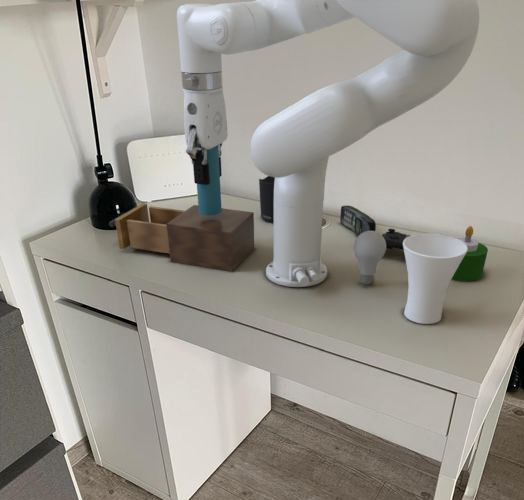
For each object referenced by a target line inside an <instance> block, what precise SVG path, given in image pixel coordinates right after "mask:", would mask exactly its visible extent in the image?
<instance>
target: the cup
mask: <svg viewBox="0 0 524 500" xmlns="http://www.w3.org/2000/svg"><path fill="white" fill-rule="evenodd" d="M410 235H411V236H409V237H407V238H405V239H404V240H403V248H404V250H403V252H404V258H405V264H406V270H407V277H408V278H407V281H408V283H407V284H408V289H407V300H406V304H405V307H404V311H403V314H404V317H406V319H408V320H409V321H411V322H413V323H417V324H423V325H430V324H431V325H432V324H436V323H439V321H440V320H442V315H443V314H442V313H443V303H444V301H445V297H446V293H447V291H448V288H449V286H450V283H451V281H452V280H453V279H452V277H453V275H454V273H455V272H456V270H457V268H458V266H459V264H460V263H461V261H462V259H463V258H464V256H465V254H466V253H467V251H468V247H467V245H466V244H465V243H464V242H463V241H461V240H459V239H458V237H455V236H451V235H448V234H442V233H434V232H423V233H414V234H410Z"/></svg>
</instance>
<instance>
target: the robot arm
mask: <svg viewBox="0 0 524 500" xmlns="http://www.w3.org/2000/svg"><path fill="white" fill-rule="evenodd" d="M354 18H356V19H357V20H358V21H360V22H361V23H363V24H364V25H366V26H367V27H369V28H370V29H372V30H373V31H375V32H376V33H378V34H380V36H382V37H384V38H385V39H387V40H388V41H390V42H391V43H393V44H394V45H396V46H397V47H399V48H401V49H402V50H399V51H398V52H396V53H395V54H393V55H391V56H389V57H387V58H386V59H384V60H383V61H381V62H379V63H378V64H377V65H374V66H373V67H371V68H369V69H368V70H365V71H364V72H361V73H360V74H358V75H356V76H354V77H352V78H349V79H346V80H341V81H338V82H335V83H331V84H329V85H326V86H324V87H322V88H319V89H318V90H315V91H314V92H311V93H310V94H308V95H306V96H305V97H304V98H302V99H300V100H298V101H296V102H295V103H293V104H291V105H290V106H288V107H286V108H284V109H283V110H281V111H280V112H278V113H276V114H274V115H272V116H271V117H269V118H267V119H266V120H264V121H263V122H261V123H260V124H259V125H258V127H257V128H256V129H255V131H254V133H252V137H251V140H250V143H249V144H250V146H249V153H250V158H251V160H252V163H253V164H254V166H255V167H256V168H257V170H258V171H260V173H262V174H264V175H265V176H267V177H268V176H270V177H275V182H274V223H273V261H271V262H270V263H269V264H267V266H266V267H265V275H266V278H267V279H268V280H270V281H271V282H272V283H274V284H276V285H279V286H284V287H290V288H306V287H312V286H315V285H318V284H320V283H321V282H324V281H325V280H326V278H327V277H328V267H327V265H325V264H324V263H323V262H322V261H321V254H322V238H323V237H322V236H323V217H324V201H325V185H326V176H327V175H326V174H327V168H328V163H329V157H331V156H332V155H334V154H337V153H339V152H340V151H342V150H344V149H347V148H348V147H350V146H351V145H353V144H355V143H356V142H358V141H360V140H361V139H363V138H364V137H365V136H367V135H368V134H369V133H371V132H372V131H374V130H376V129H377V128H379V127H381V126H383V125H385V124H387V123H389V122H390V121H393V120H395V119H396V118H399V117H401V116H402V115H404V114H405V113H407V112H409V111H412V110H413V109H415V108H417V107H419V106H421V105H422V104H424V103H426V102H427V101H429V100H431V99H432V98H434V97H435V96H437V95H438V94H439V93H441V92H442V91H443V90H444V89H446V88H447V87H448V86H449V85H450V84H451V83H452V82H453V81H454V80H455V78H457V76H458V75H459V74H460V72H461V71H462V70H463V68H464V67H465V65H466V63H467V62H468V60H469V58H470V56H471V55H472V52H473V50H474V47H475V45H476V41H477V36H478V32H479V27H480V8H479V4H478V1H477V0H252V1H234V2H224V3H217V4H210V3H185V4H181V5H179V6H178V8H177V10H176V26H177V36H178V52H179V62H180V73H181V87H182V92H183V125H184V126H183V127H184V129H183V130H184V138H185V144H186V149H185V153H186V154H187V155H188V156H189V158H190V160H191V164H192V167H193V169H192V171H193V182H194V184H196V185H197V184H203V185H208V184H210V177H209V164H206V163H207V149H208V150H209V149H212V148H214V147H216V146H217V145H218V151H219V171H220V178H222V175H223V174H222V154H223V153H222V145H223V143H224V142H225V141H227V139H228V135H229V134H228V122H227V121H228V120H227V119H228V118H227V109H226V101H225V96H224V95H225V94H224V91H223V89H224V87H223V67H222V65H223V64H222V55H237V54H242V53H245V52H251V51H257V50H261V49H265V48H267V47H270V46H274V45H277V44H279V43H282V42H285V41H289V40H291V39H294V38H296V37H300V36H302V35H308V34H309V35H310V34H312V33H314V32H317V31H320V30H323V29H326V28H328V27H331V26H334V25H337V24H340V23H343V22H346V21H349V20H352V19H354ZM199 144H201V146H202V147H203V148H202V147H197V145H199ZM197 150H199V151H202V156H201V154H200V153H199V152H197Z"/></svg>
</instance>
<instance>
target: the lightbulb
mask: <svg viewBox="0 0 524 500" xmlns="http://www.w3.org/2000/svg"><path fill="white" fill-rule="evenodd" d="M353 252H354V254H355V257H356V259H357V262H358V267H359V282H360V283H361V284H363V285H364V286H368V285H370V284H372V283H373V281H374V276H375V274H376V271H377V268H378V265H379V263H380V261H381V260H382V258H383V257H384V255H385V254H386V252H387V249H386V241H385V239H384V237H383V236H382V234H381V233H380V232H378V231H376V230H375V231H366V232H363V233H361V234H360V235H359V236H358V235H357V237H356V238H355V240H354V243H353Z"/></svg>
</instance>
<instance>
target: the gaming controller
mask: <svg viewBox="0 0 524 500" xmlns="http://www.w3.org/2000/svg"><path fill="white" fill-rule="evenodd" d="M381 235H382V236H383V237H384V239H385V241H386V250H393V249H396V250H400V251H404V248H403V240H404V239H405V238H407V237H409V236H411V235H412V234H405V233H402V232H400V231H396V229H395V228H388V229H387V231H386V232H385V233H383V234H381Z"/></svg>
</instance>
